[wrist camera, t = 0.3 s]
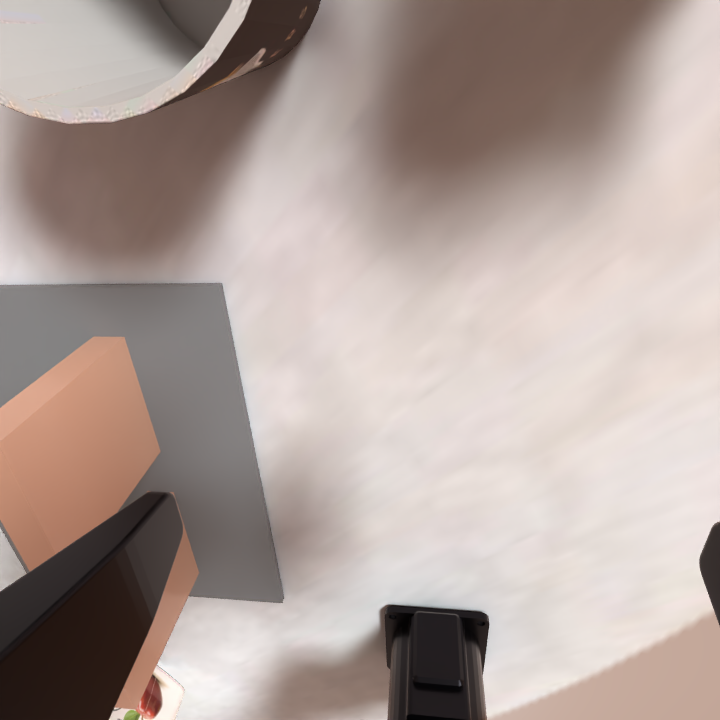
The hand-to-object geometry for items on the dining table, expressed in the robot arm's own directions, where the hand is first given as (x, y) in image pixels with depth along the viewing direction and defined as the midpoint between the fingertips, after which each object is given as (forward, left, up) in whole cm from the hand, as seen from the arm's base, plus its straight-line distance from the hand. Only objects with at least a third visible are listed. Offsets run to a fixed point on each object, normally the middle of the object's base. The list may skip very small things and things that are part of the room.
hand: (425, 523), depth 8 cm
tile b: (-7, +15, -14) cm, 21 cm away
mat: (-12, +18, -14) cm, 26 cm away
